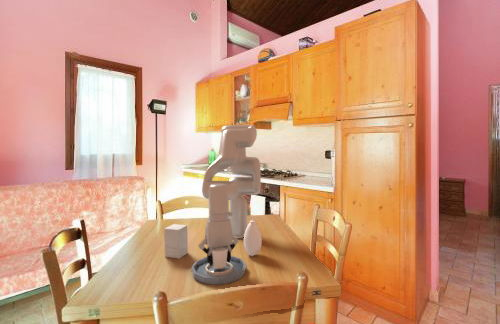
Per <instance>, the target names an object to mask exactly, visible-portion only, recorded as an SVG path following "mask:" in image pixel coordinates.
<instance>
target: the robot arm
mask: <svg viewBox="0 0 500 324" xmlns="http://www.w3.org/2000/svg"><path fill="white" fill-rule="evenodd" d="M257 132H258V131H257V128H256V126H255V125H253V124H228V125H227V124H226V125H224V126H223V127H222V128H221V135H220V136H221V138H220V143H219V150H218V156H217V158H216V159H215V160H214V161H213V162H211V164H210V165H209V166H208V167H207V169H206V170H205V173H204V176H203V182H202V186H201V187H202V188H201V194H202V196H203V198H205V199H207V200H208V219H207V220H206V224H205V228H204V229H205V231H204V238H203V239H202V241H201V242H200V243H199V244H198V248H199V249H200V250H202V252H204V253H205V254H206V257H207V262H208V263H209V264H210V266H212V255H211V253H212V250H213V248H216V247H223V246H227V248H228V254H227V262H228V263H229V262H230V259H231V256H232V251H233V249H235V247H236V245H237V244H238V243H239V239H244V238H243V237H244V234H245V230H246V228H247V226H248V201H247V199H246V197H245V195H248V196H256V195H259V194H260V193H261V189H262V185H261V183H262V182H261V181H262V180H261V163H260V162H261V161H260V159H259V158H258V157H256V156H247V155H246V154H247V152H246V150H247V149H246V148H252V147H253V145H254V143H255V142H256V140H257V136H258V133H257ZM228 168H229V169H230V173H232V175H238V176H232V177H230V178H229V179H228V180H213V178H214V177H215V176H216V174H218V173H220V172H221V171H223V170H226V169H228ZM239 175H240V176H239ZM205 245H206V246H207V247H205Z"/></svg>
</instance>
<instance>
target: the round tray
mask: <svg viewBox="0 0 500 324" xmlns="http://www.w3.org/2000/svg"><path fill="white" fill-rule="evenodd" d="M246 268H247V263H245V261H244V260H243V259H242V258H240V257H237V256H234V255H231V259H230V262H229V263H228V262H227V264H226V267H224V268H220V269H216V268H213V267H212V266H210V264H209V263H208V262H207V256H204V257H202V258H200V259H197V260H196V261H195V262H194V263H193V264H192V266H191V273H192V274H191V275H192V278H193V279H194V280H195V281H198V282H199V283H201V284H206V285H212V286H213V285H215V286H216V285H219V286H221V285H227V284H230V283H231V284H232V283H234V282H237V281H239V280H240V279H242V277H244V276H245V274H246Z"/></svg>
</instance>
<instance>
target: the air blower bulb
mask: <svg viewBox="0 0 500 324" xmlns="http://www.w3.org/2000/svg"><path fill="white" fill-rule="evenodd" d="M261 233H262V232H261V230H260V227H259V226H258V224H257V221H256V220H254V215H252V217H251V220H249V223H247V228H246V230H245V234H244V238H243V247H244V250H245V252H246V254H247V255H249V256H250V257H254V255H255V256H257V255H258V254H259V252H260V251H261V249H262V243H263V242H262V241H263V240H262V234H261Z"/></svg>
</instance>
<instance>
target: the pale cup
mask: <svg viewBox="0 0 500 324" xmlns="http://www.w3.org/2000/svg"><path fill="white" fill-rule="evenodd" d="M227 254H228V248H227V246H223V247H216V248H213V250H212V253H211V255H212V267H213V268H216V269H220V268H224V267H226V264H227Z"/></svg>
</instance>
